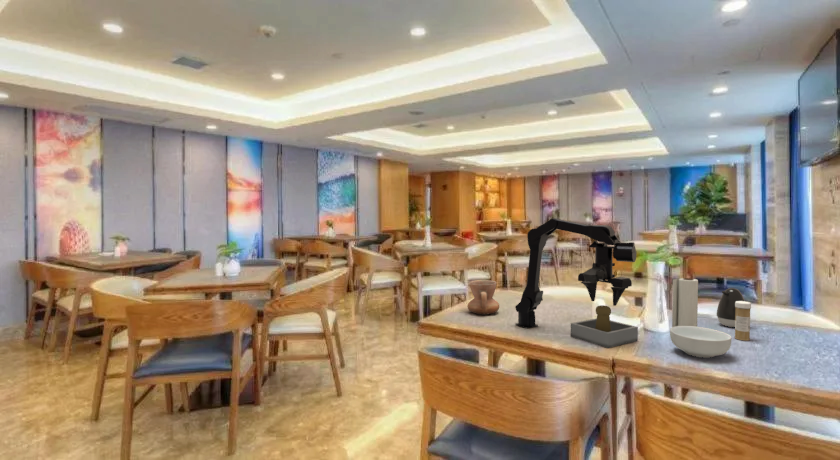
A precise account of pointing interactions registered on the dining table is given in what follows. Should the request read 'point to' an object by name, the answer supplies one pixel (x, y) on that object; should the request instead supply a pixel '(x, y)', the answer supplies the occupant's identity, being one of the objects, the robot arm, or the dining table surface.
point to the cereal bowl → (700, 341)
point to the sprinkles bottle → (742, 320)
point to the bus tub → (604, 333)
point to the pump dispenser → (728, 306)
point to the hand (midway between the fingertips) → (603, 303)
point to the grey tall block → (685, 302)
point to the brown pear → (603, 318)
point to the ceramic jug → (483, 297)
